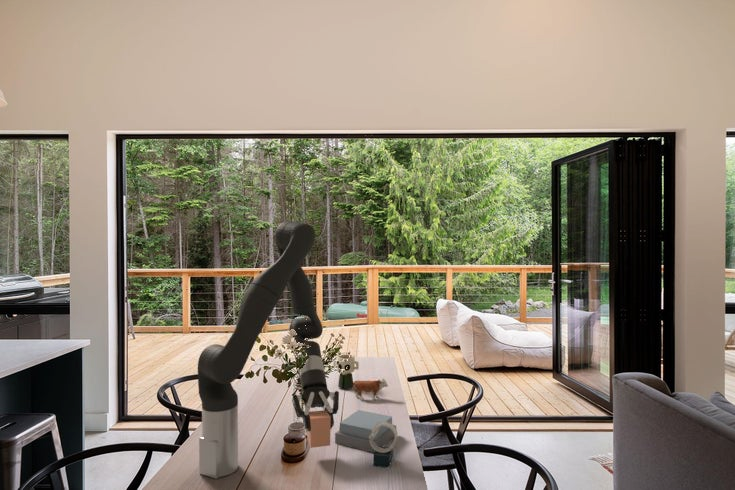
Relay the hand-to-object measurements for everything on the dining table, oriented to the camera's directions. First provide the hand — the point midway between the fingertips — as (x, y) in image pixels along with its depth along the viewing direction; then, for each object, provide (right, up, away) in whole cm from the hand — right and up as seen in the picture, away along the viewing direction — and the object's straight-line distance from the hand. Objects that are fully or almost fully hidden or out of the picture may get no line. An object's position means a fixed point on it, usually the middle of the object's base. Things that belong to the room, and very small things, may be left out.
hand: (320, 428), depth 132 cm
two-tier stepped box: (+13, -9, +14) cm, 21 cm away
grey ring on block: (+17, -9, -1) cm, 20 cm away
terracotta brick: (-1, -5, +2) cm, 5 cm away
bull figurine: (+14, -8, +50) cm, 52 cm away
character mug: (+4, -8, +63) cm, 63 cm away
